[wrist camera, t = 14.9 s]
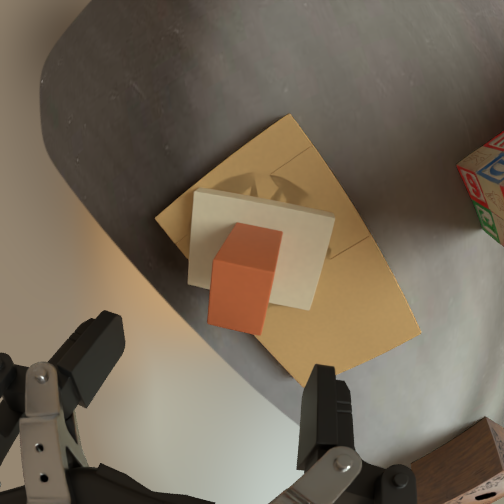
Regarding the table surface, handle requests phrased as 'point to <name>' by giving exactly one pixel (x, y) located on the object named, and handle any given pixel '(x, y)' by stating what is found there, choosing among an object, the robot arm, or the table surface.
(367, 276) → the base pad
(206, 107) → the table surface
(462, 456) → the tissue box cover
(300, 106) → the table surface
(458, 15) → the table surface
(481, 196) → the stack of blocks
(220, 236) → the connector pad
